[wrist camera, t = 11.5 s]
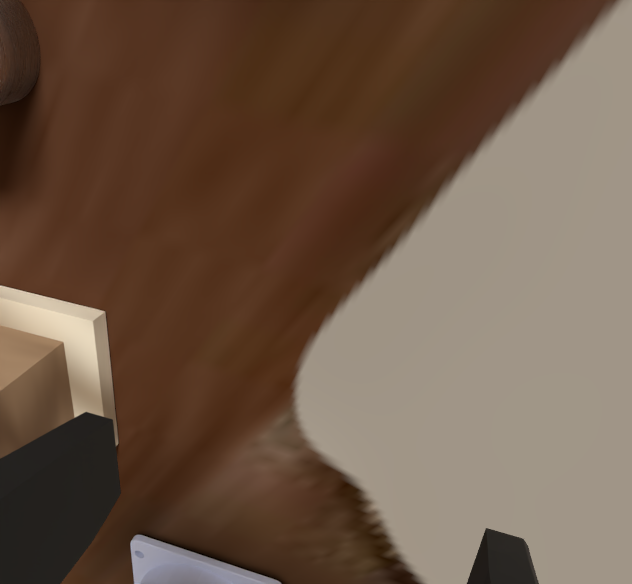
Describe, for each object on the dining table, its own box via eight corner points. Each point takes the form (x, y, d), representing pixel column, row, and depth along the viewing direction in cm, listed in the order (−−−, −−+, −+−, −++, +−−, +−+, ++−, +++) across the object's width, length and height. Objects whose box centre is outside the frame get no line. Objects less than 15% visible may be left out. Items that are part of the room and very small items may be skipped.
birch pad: (118, 443, 26) (108, 455, 25) (-11, 404, 27) (-24, 415, 27) (105, 311, 22) (93, 321, 22) (-41, 275, 24) (-57, 283, 23)
